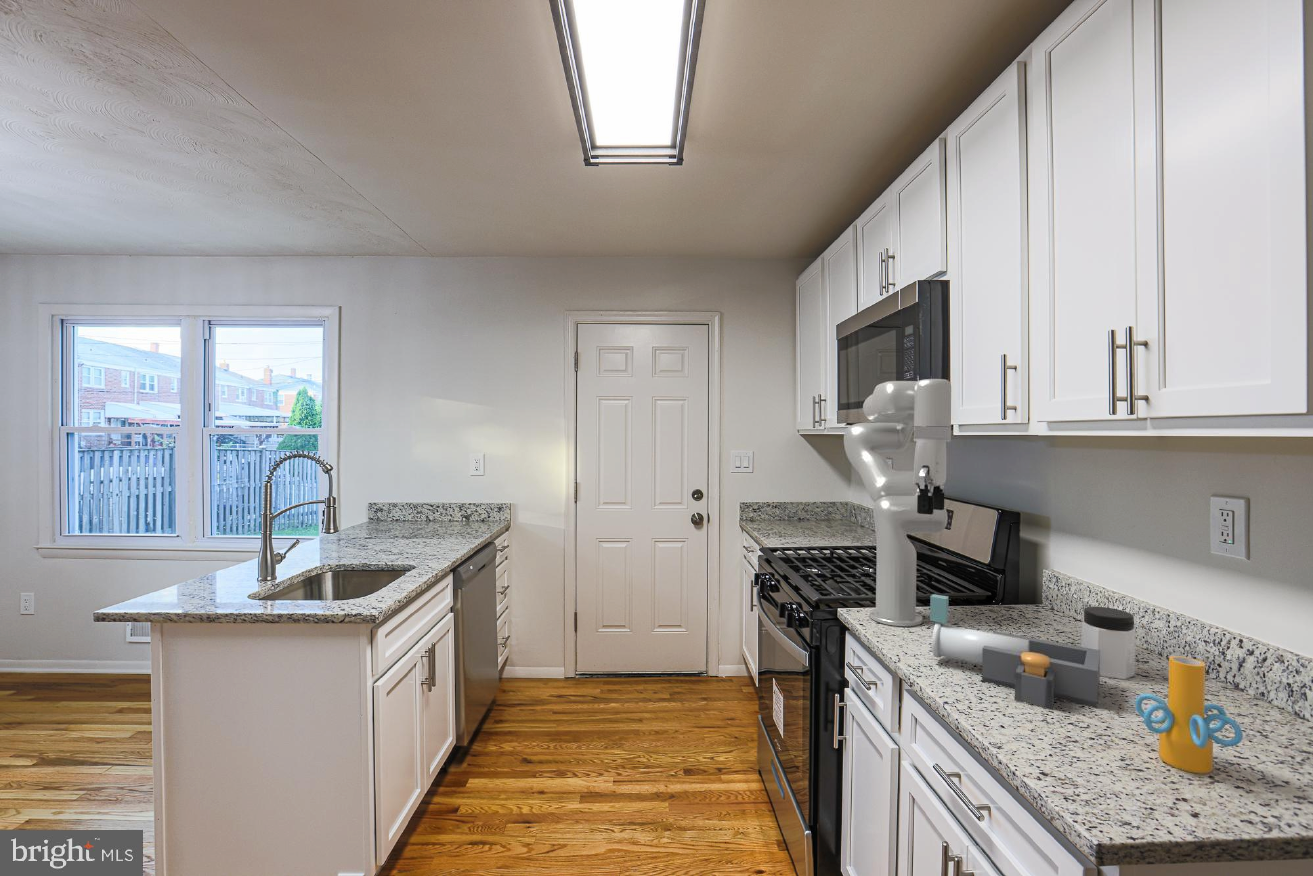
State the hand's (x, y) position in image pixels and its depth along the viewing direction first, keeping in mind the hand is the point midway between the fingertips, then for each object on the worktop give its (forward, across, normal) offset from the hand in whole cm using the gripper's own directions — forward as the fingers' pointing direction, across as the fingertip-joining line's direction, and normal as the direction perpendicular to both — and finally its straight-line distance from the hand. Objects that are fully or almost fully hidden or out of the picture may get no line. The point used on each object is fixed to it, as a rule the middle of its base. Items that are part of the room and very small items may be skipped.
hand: (930, 511), depth 137 cm
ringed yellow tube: (+31, +28, +42) cm, 59 cm away
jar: (+31, -8, +32) cm, 45 cm away
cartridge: (+29, +7, +11) cm, 32 cm away
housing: (+30, +10, +22) cm, 39 cm away
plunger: (+29, +17, +22) cm, 40 cm away
